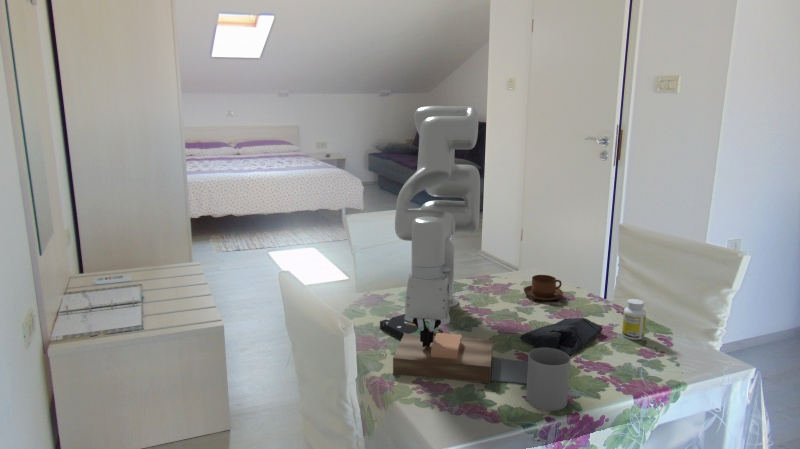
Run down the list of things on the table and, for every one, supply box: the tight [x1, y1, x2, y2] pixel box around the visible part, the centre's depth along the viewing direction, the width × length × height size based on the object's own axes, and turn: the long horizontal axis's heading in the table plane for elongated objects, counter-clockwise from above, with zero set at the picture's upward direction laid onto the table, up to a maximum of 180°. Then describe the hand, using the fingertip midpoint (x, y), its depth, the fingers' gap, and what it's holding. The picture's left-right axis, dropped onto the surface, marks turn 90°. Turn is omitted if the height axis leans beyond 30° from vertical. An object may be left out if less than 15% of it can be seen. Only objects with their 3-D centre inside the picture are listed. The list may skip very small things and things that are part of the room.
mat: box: [490, 357, 528, 385], centre depth 135 cm, size 11×12×1 cm
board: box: [392, 333, 494, 384], centre depth 138 cm, size 14×22×4 cm, turn 79°
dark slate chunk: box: [519, 317, 603, 357], centre depth 153 cm, size 15×22×5 cm
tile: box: [431, 332, 462, 359], centre depth 137 cm, size 9×6×2 cm, turn 168°
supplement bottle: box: [621, 298, 647, 341], centre depth 154 cm, size 5×5×10 cm
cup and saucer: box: [523, 274, 564, 302], centre depth 184 cm, size 12×12×6 cm
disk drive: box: [379, 313, 444, 341], centre depth 157 cm, size 10×3×15 cm
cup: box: [525, 348, 571, 412], centre depth 122 cm, size 8×8×10 cm
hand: (426, 344), depth 138 cm, fingers closed
